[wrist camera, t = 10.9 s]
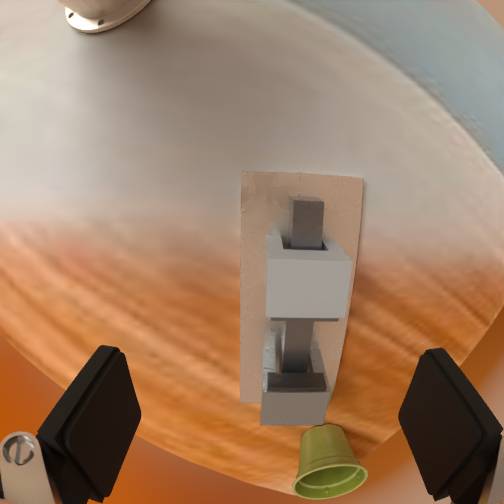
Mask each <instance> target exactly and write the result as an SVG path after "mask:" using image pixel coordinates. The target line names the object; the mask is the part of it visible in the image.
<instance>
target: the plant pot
mask: <svg viewBox="0 0 504 504" xmlns="http://www.w3.org/2000/svg"><path fill="white" fill-rule="evenodd" d="M367 475H368V473H367V470H366V468H365V467H364V466H362V465H361V464H360V462H359V461H358V460H357V459H356V457H355V455H354V453H353V450H352V448H351V446H350V444H349V442H348V440H347V437H346V435H345V433H344V431H343V429H342V428H341V427H340V426H337V425H334V424H325V425H323V426H315V427H312V428H310V429H309V430H307V431H306V432H305V433H304V434H303V435H302V438H301V447H300V459H299V469H298V474H297V476H296V480H295V481H294V483H293V485H292V490H293V492H294V493H295V494H296V495H298V496H300V497H302V498H307V499H328V498H334V497H338V496H341V495H343V494H346V493H349V492H351V491H353V490H355V489H356V488H358V487H359V486H361V485H362V484H363V483H364V481H365V480H366V478H367Z"/></svg>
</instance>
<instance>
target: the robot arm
mask: <svg viewBox="0 0 504 504" xmlns="http://www.w3.org/2000/svg"><path fill="white" fill-rule="evenodd" d="M56 1H58V2H59V3H61V4H63V5H64V6H65V16H66V19H67V22H68V23H69V24H70V26H72V27H73V28H75V29H76V30H79V31H81V32H85V33H97V32H101V31H106V30H108V29H111V28H114V27H116V26H118V25H120V24H122V23H124V22H125V21H127V20H128V19H130V18H131V17H133V16H134V15H136V14H137V13H138V12H139V11H140V10H142V9H143V8H144V7H145V6H146V5H147V4H148V3H149V2H150V1H151V0H56ZM398 418H399V422H400V425H401V427H402V429H403V432H404V434H405V436H406V439H407V441H408V444H409V446H410V449H411V450H412V453H413V456H414V458H415V461H416V463H417V466H418V468H419V471H420V474H421V476H422V479H423V481H424V484H425V487H426V489H427V492H428V493H429V494H430V495H433V498H434V500H435V501H437V500H440V499H443V498H445V497H448V496H449V495H450V498H451V500H452V501H451V504H504V436H503V437H502V435H501V434H500V433H501V432H502V430H503V428H502V426H501V425H500V423H499V422H498V420H497V419H496V417H495V416H494V414H493V413H492V411H491V410H490V409H489V407H488V406H487V404H486V403H485V402H484V400H483V399H482V397H481V396H480V395H479V394H478V392H477V391H476V389H475V388H474V387H473V385H472V384H471V383H470V381H469V380H468V379H467V378H466V376H465V375H464V373H463V372H462V371H461V369H460V368H459V367H458V366H457V364H456V363H455V362H454V361H453V359H452V358H451V357H450V355H449V354H448V353H447V352H446V350H445V349H443V348H435V349H428V350H426V351H425V353H424V354H423V355H421V356H420V359H419V362H418V364H417V367H416V370H415V373H414V376H413V378H412V381H411V384H410V386H409V389H408V391H407V394H406V396H405V399H404V401H403V404H402V406H401V408H400V411H399V415H398ZM140 420H141V409H140V406H139V403H138V400H137V397H136V393H135V390H134V387H133V383H132V380H131V376H130V372H129V369H128V365H127V361H126V357H125V354H124V353H122V352H120V350H119V348H117V347H112V346H105V345H101V346H100V347H98V349H97V350H96V351H95V353H94V354H93V355H92V357H91V358H90V359H89V360H88V362H87V363H86V364H85V366H84V367H83V368H82V370H81V371H80V372H79V374H78V375H77V376H76V378H75V379H74V380H73V382H72V383H71V385H70V386H69V387H68V389H67V390H66V391H65V393H64V394H63V396H62V397H61V398H60V400H59V401H58V403H57V404H56V405H55V407H54V408H53V410H52V411H51V412H50V414H49V415H48V417H47V418H46V420H45V421H44V423H43V424H42V426H41V427H40V429H39V430H38V434H37V435H36V437H34V436H33V435H32V434H30V433H28V432H23V431H21V432H14V433H11V434H10V435H8V436H7V437H5V438H4V439H3V440H2V442H1V444H0V504H87V502H88V499H91V500H94V501H97V502H100V503H103V500H104V498H105V497H109V496H110V494H111V492H112V489H113V487H114V484H115V482H116V479H117V476H118V474H119V471H120V469H121V466H122V463H123V461H124V459H125V456H126V454H127V452H128V449H129V446H130V444H131V442H132V439H133V437H134V434H135V432H136V430H137V427H138V425H139V422H140Z"/></svg>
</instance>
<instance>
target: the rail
mask: <svg viewBox="0 0 504 504" xmlns="http://www.w3.org/2000/svg"><path fill="white" fill-rule="evenodd" d="M362 195H363V178H357V177H345V176H332V175H317V174H300V173H277V172H242V186H241V257H240V403H261V422H260V425H323V422H324V418H325V414H326V410H327V406H328V403H331V400H332V395H333V391H334V387H335V383H336V378H337V373H338V369H339V364H340V359H341V354H342V349H343V344H344V339H345V333H346V328H347V322H348V316H349V310H350V304H351V297H352V290H353V283H354V276H355V268H356V260H357V251H358V242H359V232H360V221H361V209H362ZM268 236H281V239H282V244H283V249H290V250H319V251H321V246H322V238H333V239H334V240H335V242H336V243H337V244H338V245H339V246H340V247H341V248H342V250H343V251H344V252H345V253H346V254H347V255H348V257H349V258H350V259H351V260H352V261H353V262H352V270H351V278H350V286H349V293H348V300H347V306H346V313H345V318H339V320H338V322H311V321H271V317H265V315H266V271H267V244H268Z"/></svg>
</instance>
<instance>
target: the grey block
mask: <svg viewBox="0 0 504 504" xmlns="http://www.w3.org/2000/svg"><path fill="white" fill-rule="evenodd" d="M352 262H353V261H352V260H351V259H350V258H349V257H348V255H347V254H346V253H345V252H344V251H343V250H342V248H341V247H340V246H339V245H338V244H337V243H336V242H335V240H334V239H333V238H322V246H321V251H319V250H290V249H283V244H282V239H281V236H268V244H267V271H266V315H265V317H271V321H311V322H338V320H339V318H345V313H346V306H347V300H348V293H349V286H350V278H351V270H352Z"/></svg>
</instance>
